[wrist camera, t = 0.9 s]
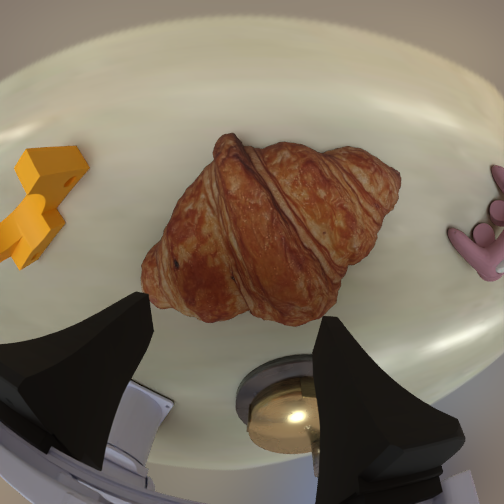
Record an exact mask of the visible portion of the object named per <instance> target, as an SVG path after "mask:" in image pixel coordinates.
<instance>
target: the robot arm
mask: <svg viewBox="0 0 504 504" xmlns="http://www.w3.org/2000/svg"><path fill="white" fill-rule="evenodd" d="M153 332H154V329H153V322H152V315H151V308H150V300H149V294H147V293H141V292H134V293H132V294H130V295H128V296H127V297H125V298H123V299H121V300H120V301H118V302H116V303H114V304H113V305H111V306H109V307H107V308H106V309H104V310H102V311H100V312H99V313H97V314H95V315H93V316H91V317H89V318H87V319H85V320H83V321H82V322H80V323H77V324H75V325H73V326H71V327H68V328H66V329H63V330H61V331H58V332H55V333H52V334H49V335H46V336H43V337H40V338H36V339H32V340H27V341H22V342H16V343H8V344H0V476H1V477H2V478H3V479H4V480H5V481H6V482H7V483H8V484H10V485H11V486H12V487H13V488H14V489H15V490H16V491H18V492H19V493H20V494H21V495H22V496H24V497H25V498H26V499H27V500H29V501H30V502H31V503H33V504H206V503H200V502H195V501H191V500H186V499H181V498H177V497H174V496H169V495H166V494H162V493H159V492H155V485H154V483H153V481H152V479H151V478H150V477H148V476H147V473H148V470H149V469H148V468H146V467H145V465H146V462H147V459H148V456H149V453H150V450H151V447H152V444H153V441H154V438H155V435H156V432H157V429H158V427H159V426H160V424H161V423H162V421H163V420H164V419H165V417H166V416H167V414H168V413H169V411H170V410H171V408H172V407H173V405H174V403H173V402H172V401H171V400H169V399H167V398H165V397H162V396H160V395H158V394H156V393H154V392H152V391H150V390H148V389H146V388H144V387H142V386H141V385H139V384H137V383H135V382H133V381H131V378H132V376H133V374H134V372H135V371H136V369H137V367H138V365H139V363H140V362H141V360H142V358H143V356H144V354H145V352H146V350H147V348H148V346H149V343H150V341H151V338H152V335H153ZM312 361H313V379H314V386H315V393H316V399H317V406H318V414H319V424H320V454H319V473H318V485H317V494H316V502H315V504H479V500H478V496H477V492H476V488H475V485H474V481H473V478H472V474H471V471H470V470H467V471H464V472H461V473H459V474H457V475H454V476H451V477H449V478H447V479H445V480H443V481H441V482H440V478H439V475H441V474H442V473H443V470H442V466H441V465H442V464H443V463H445V462H446V461H447V460H448V459H449V458H451V457H452V456H453V455H454V454H455V453H456V452H457V451H458V450H460V448H461V447H462V446H463V444H464V442H465V436H464V433H463V431H462V428H461V426H460V423H459V421H458V419H456V418H454V417H452V416H450V415H448V414H446V413H443V412H441V411H439V410H437V409H435V408H433V407H432V406H430V405H428V404H427V403H425V402H423V401H422V400H420V399H418V398H417V397H415V396H414V395H413V394H411V393H410V392H408V391H407V390H406V389H404V388H403V387H402V386H400V385H399V384H398V383H397V382H395V381H394V380H393V379H392V378H391V377H390V376H389V375H388V374H386V373H385V372H384V371H383V370H382V369H381V368H380V367H379V366H378V365H377V364H376V363H375V362H374V361H373V360H372V358H371V357H370V356H369V355H368V354H367V353H366V352H365V351H364V350H363V348H362V347H361V346H360V345H359V344H358V342H357V341H356V340H355V339H354V337H353V336H352V335H351V334H350V332H349V331H348V330H347V328H346V327H345V326H344V325H343V323H342V322H341V321H340V320H339V318H338V317H331V316H323V318H322V321H321V325H320V328H319V332H318V335H317V339H316V342H315V346H314V349H313V352H312Z"/></svg>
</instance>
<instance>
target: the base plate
mask: <svg viewBox="0 0 504 504" xmlns="http://www.w3.org/2000/svg"><path fill="white" fill-rule="evenodd" d="M296 377H313V361H312V355H294V356H288V357H283V358H279V359H276V360H273V361H270V362H268V363H265V364H263V365H261V366H259V367H258V368H256V369H254V370H253V371H252V372H250V373H249V374H248V375H247V376H246V377H245V378H244V379H243V381H242V382H241V383H240V385H239V387H238V390H237V395H236V411H237V414H238V416H239V418H240V419H241V420H242V421H243V422H244V423H245V424H246V425H247V421H248V410H249V404H251V402H252V400H253V399H254V397H255V396H256V395H257V394H258V393H259V392H260V391H261V390H263V389H264V388H266V387H268V386H269V385H272V384H274V383H276V382H279V381H282V380H286V379H290V378H296Z"/></svg>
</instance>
